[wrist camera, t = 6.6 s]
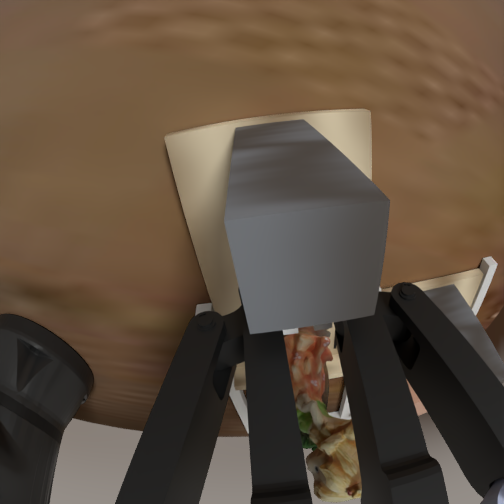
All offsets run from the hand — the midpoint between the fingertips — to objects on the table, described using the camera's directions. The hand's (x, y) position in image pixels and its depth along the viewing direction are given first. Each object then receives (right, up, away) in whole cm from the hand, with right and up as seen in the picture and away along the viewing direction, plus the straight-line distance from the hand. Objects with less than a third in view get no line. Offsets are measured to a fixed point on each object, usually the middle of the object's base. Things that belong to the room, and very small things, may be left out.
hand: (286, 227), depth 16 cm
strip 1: (+1, -3, +5) cm, 5 cm away
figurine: (+2, -9, +9) cm, 13 cm away
